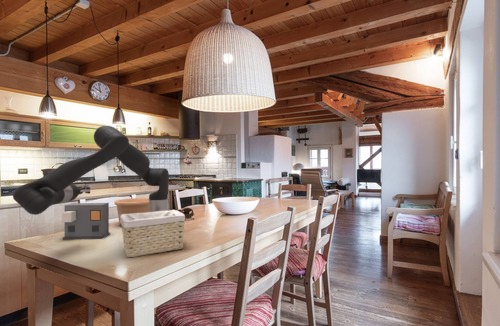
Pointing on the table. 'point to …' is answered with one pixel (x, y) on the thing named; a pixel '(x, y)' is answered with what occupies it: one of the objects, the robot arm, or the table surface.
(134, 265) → the table surface
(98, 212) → the orange paddle
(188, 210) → the pottery mug
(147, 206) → the pottery
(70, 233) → the switch box
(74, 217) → the cream paddle
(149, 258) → the table surface
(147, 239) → the storage basket
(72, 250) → the table surface
